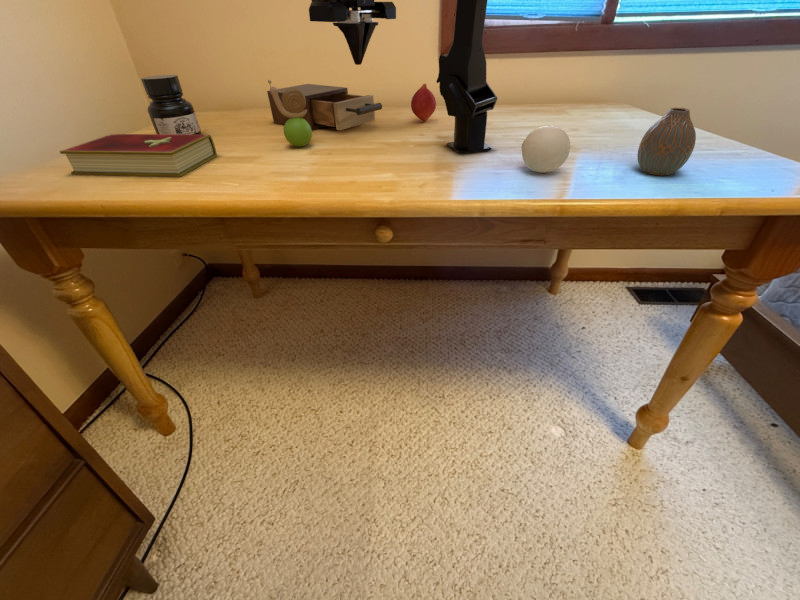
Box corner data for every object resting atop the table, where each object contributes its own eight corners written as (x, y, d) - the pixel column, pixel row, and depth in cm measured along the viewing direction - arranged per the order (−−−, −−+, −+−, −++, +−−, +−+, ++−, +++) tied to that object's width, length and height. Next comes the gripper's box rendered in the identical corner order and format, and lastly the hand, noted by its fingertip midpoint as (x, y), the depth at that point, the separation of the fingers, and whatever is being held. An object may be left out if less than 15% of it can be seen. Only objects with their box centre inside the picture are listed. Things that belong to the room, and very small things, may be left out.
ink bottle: (163, 146, 80) (138, 81, 73) (152, 139, 86) (128, 77, 79) (209, 137, 85) (190, 75, 78) (196, 131, 91) (177, 72, 84)
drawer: (389, 122, 88) (388, 96, 85) (354, 133, 81) (352, 105, 78) (335, 114, 97) (332, 90, 94) (300, 123, 90) (296, 98, 87)
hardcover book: (121, 154, 77) (111, 132, 74) (217, 155, 74) (210, 132, 71) (72, 174, 67) (58, 149, 65) (180, 176, 64) (170, 150, 62)
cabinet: (350, 119, 96) (347, 87, 91) (312, 130, 88) (306, 95, 84) (312, 113, 103) (307, 83, 99) (273, 122, 95) (266, 90, 91)
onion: (408, 123, 90) (407, 85, 85) (414, 118, 94) (414, 81, 90) (432, 124, 89) (433, 85, 84) (437, 119, 93) (438, 81, 88)
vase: (682, 182, 55) (709, 116, 50) (629, 174, 58) (649, 111, 53) (683, 168, 60) (708, 106, 55) (634, 162, 63) (653, 103, 58)
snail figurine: (279, 145, 78) (265, 78, 71) (310, 141, 80) (300, 75, 73) (284, 152, 74) (269, 81, 67) (316, 147, 76) (306, 78, 69)
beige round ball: (540, 161, 65) (547, 118, 61) (573, 173, 60) (584, 127, 56) (508, 168, 62) (514, 124, 58) (540, 181, 57) (549, 134, 53)
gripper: (354, -33, 78) (359, 57, 87) (281, -39, 66) (296, 66, 76) (397, -36, 72) (397, 61, 82) (326, -42, 61) (336, 71, 70)
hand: (358, 64), depth 78 cm, fingers closed
